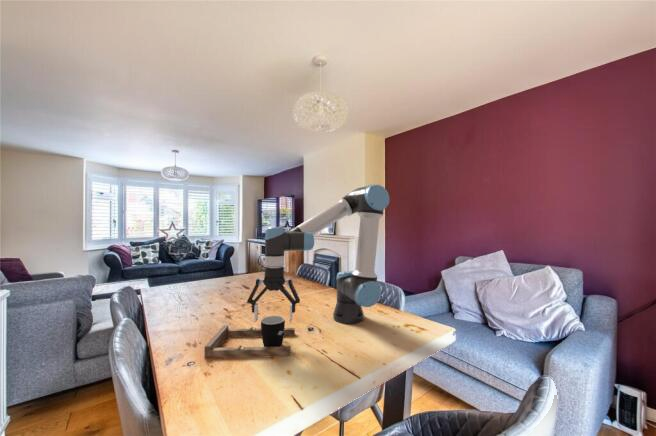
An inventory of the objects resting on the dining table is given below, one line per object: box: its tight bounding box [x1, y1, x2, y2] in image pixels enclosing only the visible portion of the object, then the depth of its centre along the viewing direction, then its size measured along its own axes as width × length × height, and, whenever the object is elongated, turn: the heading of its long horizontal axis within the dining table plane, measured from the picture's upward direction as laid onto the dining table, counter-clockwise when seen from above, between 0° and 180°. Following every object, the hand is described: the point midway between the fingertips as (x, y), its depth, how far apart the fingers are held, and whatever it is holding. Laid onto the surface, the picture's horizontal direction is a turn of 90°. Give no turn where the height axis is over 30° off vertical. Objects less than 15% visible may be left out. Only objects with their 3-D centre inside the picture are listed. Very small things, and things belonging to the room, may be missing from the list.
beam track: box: [204, 324, 296, 359], centre depth 105 cm, size 30×19×4 cm, turn 92°
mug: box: [260, 315, 286, 347], centre depth 105 cm, size 12×9×10 cm
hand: (273, 320), depth 105 cm, fingers open, 13 cm apart
